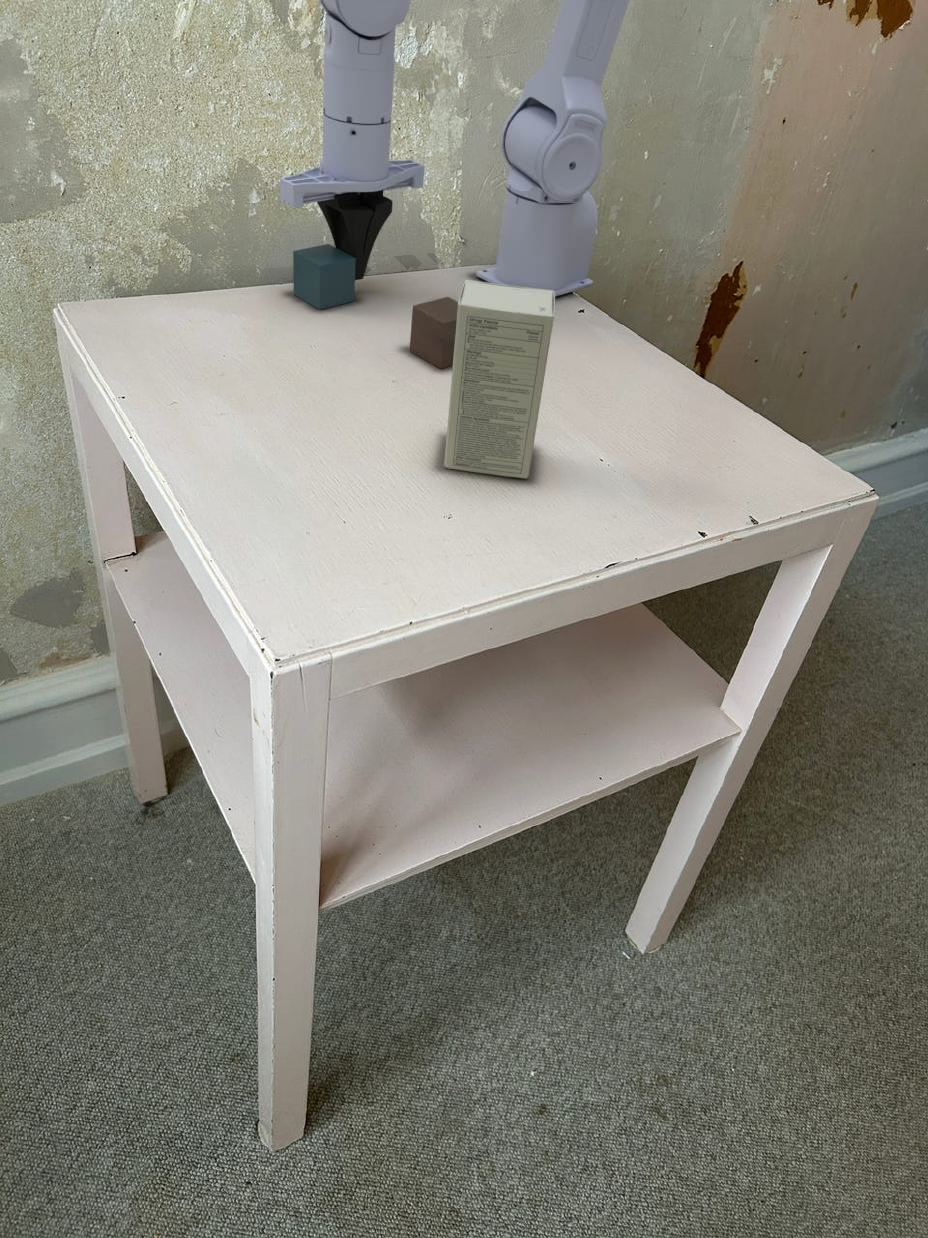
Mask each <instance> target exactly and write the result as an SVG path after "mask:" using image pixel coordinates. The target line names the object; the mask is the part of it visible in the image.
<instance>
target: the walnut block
mask: <svg viewBox="0 0 928 1238" xmlns="http://www.w3.org/2000/svg"><path fill="white" fill-rule="evenodd" d="M458 302H459V301H457V300H455V299H453V298H451V297H449V296H444V297H440V298H438V299H433V300H430V301H429V300H428V301H426V302H422V303H418V304H414V305H412V312H411V324H410V325H411V326H410V337H409V352H410V353H412V354H414V355H415V356H417V357H419V358H421V359H422V360H425V361H426V362H428V363H430V364H431V365H433V366H434V367H436V368H438V369H440V370H443V369H447V368H450V367H453V358H454V346H455V335H456V323H457V311H458Z"/></svg>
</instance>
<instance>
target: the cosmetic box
mask: <svg viewBox="0 0 928 1238" xmlns="http://www.w3.org/2000/svg"><path fill="white" fill-rule="evenodd" d="M457 302H458V311H457V323H456V335H455V346H454V358H453V365H452V372H451V381H450V394H449V403H448V404H449V407H448V416H447V417H448V418H447V427H446V428H447V429H446V438H445V451H444V462H443V466H444V468H446V469H451V470H457V471H465V472H471V473H479V474H487V475H493V476H500V477H507V478H508V477H509V478H520V479H528V478H529V476H530V470H531V463H532V457H533V451H534V445H535V439H536V432H537V427H538V419H539V413H540V409H541V401H542V394H543V388H544V383H545V377H546V376H545V375H546V370H547V363H548V356H549V351H550V344H551V338H552V332H553V326H554V319H555V312H556V311H555V310H556V296H555V292H554V291H552V290H544V289H536V288H528V287H520V286H512V285H504V284H495V283H490V282H488V281H479V280H472V279H471V280H470V279H465V280H464V282H463V285H462V287H461V291H460V295H459V298H458V301H457Z"/></svg>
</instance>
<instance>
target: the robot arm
mask: <svg viewBox="0 0 928 1238" xmlns="http://www.w3.org/2000/svg"><path fill="white" fill-rule="evenodd" d="M318 2H319V3H320V6H321V7H322V9H323V10H324V11H325V16H324V18H325V19H324V24H325V25H324V47H323V76H322V77H323V80H322V81H323V87H322V88H323V90H322V91H323V92H322V158H321V159H320V160H319V165H318V166H315V167H312V168H310V169H308V170H307V169H306V170H305V171H302V172H299V173H296V174H293V175H288V176H283V177H280V178H279V201H280V203H282V204H283V205H286V206H287V207H290V208H292V209H295V210H296V209H299V208H300V209H301V208H303V207H304V205H305V204H312V203H316V204H317V206H318V207H319V209H320V210H321V211H320V212H321V213H322V214H323V217H324V220H325V221H326V223H327V226H328V229H329V231H330V235H331V237H332V240H333V244H334V247H335V248H337V249H339V250H341V251H343V252H345V253H347V254H349V255H350V256H352V257H354V258H356V263H355V281H360V280H363V279H364V277H365V274H366V271H367V267H368V264H369V261H370V257H371V254H372V251H373V248H374V245H375V242H376V240H377V238H378V236H379V234H380V232H381V230H382V228H383V227H384V224H385V223H386V222H387V220H388V218H389V217H390V216H391V215H392V213H393V200H392V199H390V198H388V197H387V196H385V195H384V192H385V191H392V190H398V189H403V188H404V189H405V188H409V187H410V188H411V189H415V190H417V189H421V188H423V187H424V179H425V165H424V164H422V163H419V162H417V161H416V160H412V159H403V160H402V159H401V160H390V153H391V152H390V150H391V135H392V133H391V132H392V131H391V130H392V112H393V94H394V77H395V76H394V74H395V44H396V42H395V41H396V29H397V28H396V27H397V25H400V24H401V23H403V22H404V21H405V19H406V18H407V15H408V12H409V9H410V5H411V0H318ZM629 3H630V0H562V2H561V5H560V9H559V12H558V16H557V19H556V22H555V26H554V29H553V33H552V36H551V39H550V42H549V46H548V50H547V53H546V56H545V59H544V63H543V66H542V67H541V68H540V69H539V70H538V71H537V72H536V73H535V74H534V75H533V76H532V77H530V79H529V80H527V82H526V83H525V84H524V86H523V90H522V93H521V97H520V100H519V101H518V103H517V104H516V106H515V108H514V109H513V110H512V111H511V113H510V114H509V115H508V117H507V118H506V120H505V121H504V124H503V126H502V130H501V132H500V133H501V134H500V149H501V153H502V156H503V158H504V160H505V162H506V163H507V164H508V165H509V168H508V175H507V179H506V187H505V192H504V193H505V194H504V202H503V210H502V218H501V224H500V233H499V240H498V247H497V255H496V263H495V266H490V267H487V268H483V269H478V270H476V273H475V274H476V277H477V278H480V279H482V280H484V281H485V282H487V283H495V284H504V285H512V286H520V287H528V288H536V289H544V290H552V291H554V292H555V297H559V296H562V295H565V294H568V293H572V292H576V291H579V290H582V289H587V288H589V287H592V286H593V285H594V280H593V279H591V278H588V275H589V270H590V264H591V260H592V256H593V255H592V254H593V249H594V245H595V238H596V234H597V229H598V223H599V213H598V207H597V203H596V200H595V199H594V197H593V195H592V194H591V192H590V191H589V190H590V189H591V188H592V187H593V185H594V184H595V182H596V181H597V179H598V177H599V174H600V171H601V169H602V163H603V147H602V146H603V136H604V132H605V129H606V126H607V124H608V114H607V110H606V106H605V103H604V98H603V95H602V85H603V81H604V78H605V75H606V72H607V69H608V67H609V63H610V60H611V57H612V55H613V51H614V47H615V45H616V42H617V38H618V37H619V33H620V31H621V27H622V24H623V21H624V18H625V16H626V13H627V10H628V6H629Z"/></svg>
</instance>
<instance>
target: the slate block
mask: <svg viewBox="0 0 928 1238" xmlns="http://www.w3.org/2000/svg"><path fill="white" fill-rule="evenodd" d="M355 263H356V258H354V257H352V256H350V255H349V254H347V253H345V252H343V251H341V250H339V249H337V248H336V247H335V245H332V244H330V243H325V244H321V245H316V246H311V247H306V248H301V249H296V250H293V251H292V269H293V270H292V273H293V275H292V276H293V281H292V283H293V295H294V296H296V297H297V298H299V299H300V300H302V301H305V303H308V304H309V305H311V306H312V307H314V308H316V309H317V310H324V309H328V308H332V307H336V306H340V305H344V304H349V303H352V302H355V293H356V292H355V291H356V280H355Z"/></svg>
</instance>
